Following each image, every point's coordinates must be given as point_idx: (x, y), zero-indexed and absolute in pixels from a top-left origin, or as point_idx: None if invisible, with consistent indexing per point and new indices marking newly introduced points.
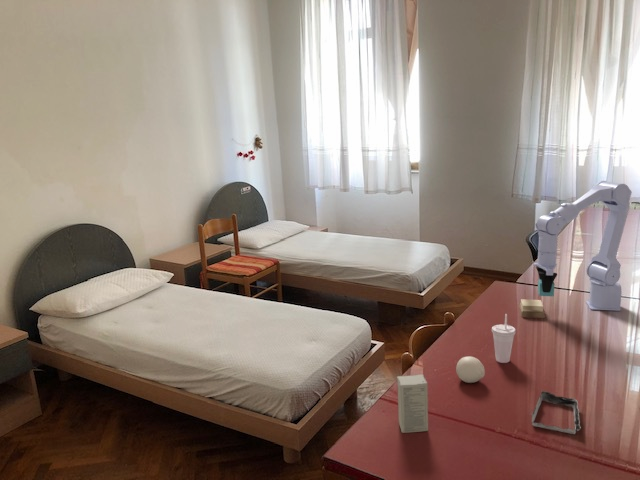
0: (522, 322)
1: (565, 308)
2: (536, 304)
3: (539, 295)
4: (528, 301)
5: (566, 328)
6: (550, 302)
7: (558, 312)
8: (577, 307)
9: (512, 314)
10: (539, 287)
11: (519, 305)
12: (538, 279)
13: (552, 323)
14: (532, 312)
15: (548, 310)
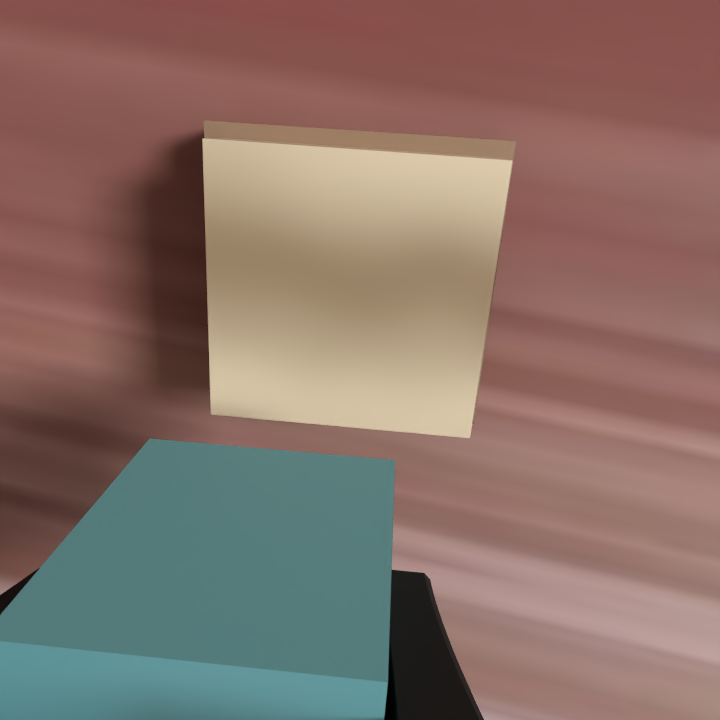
0: (55, 105)
1: (515, 606)
2: (276, 347)
3: (145, 443)
4: (405, 262)
5: (14, 491)
6: (705, 528)
7: (405, 527)
8: (538, 693)
9: (306, 12)
10: (126, 540)
11: (501, 140)
12: (353, 682)
13: (104, 410)
14: None
15: (460, 456)
